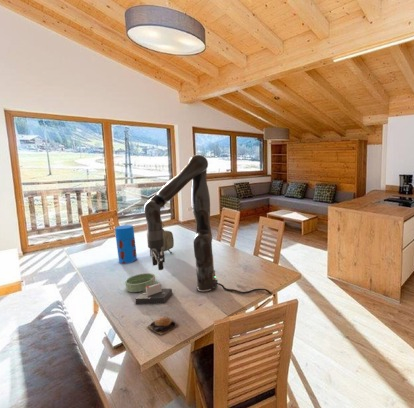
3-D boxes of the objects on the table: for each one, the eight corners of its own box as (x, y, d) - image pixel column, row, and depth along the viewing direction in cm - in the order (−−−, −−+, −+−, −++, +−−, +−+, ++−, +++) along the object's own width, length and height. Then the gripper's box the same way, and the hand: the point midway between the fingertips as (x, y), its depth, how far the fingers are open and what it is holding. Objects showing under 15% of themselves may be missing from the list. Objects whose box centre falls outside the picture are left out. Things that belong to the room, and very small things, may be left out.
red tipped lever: (160, 290, 149) (159, 282, 148) (161, 291, 148) (160, 283, 147) (146, 295, 144) (145, 286, 143) (147, 296, 142) (146, 287, 142)
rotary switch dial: (172, 293, 152) (172, 287, 152) (163, 303, 141) (163, 298, 141) (146, 293, 151) (145, 288, 151) (135, 304, 140) (134, 299, 140)
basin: (160, 280, 167) (159, 273, 166) (148, 292, 152) (147, 284, 151) (135, 281, 166) (134, 273, 165) (120, 293, 151) (119, 285, 150)
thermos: (130, 263, 192) (126, 229, 187) (115, 263, 192) (110, 229, 187) (140, 257, 202) (136, 225, 198) (125, 257, 203) (121, 224, 198)
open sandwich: (146, 328, 122) (145, 320, 121) (165, 318, 129) (164, 311, 128) (160, 336, 116) (159, 328, 116) (178, 325, 123) (177, 318, 123)
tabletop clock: (174, 253, 212) (172, 221, 208) (166, 257, 204) (163, 224, 199) (158, 251, 215) (155, 220, 210) (149, 256, 206) (146, 223, 202)
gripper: (168, 239, 141) (170, 269, 143) (158, 233, 150) (160, 261, 153) (152, 242, 135) (155, 273, 138) (143, 236, 145) (145, 265, 148)
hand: (158, 267), depth 146 cm, fingers open, 8 cm apart
